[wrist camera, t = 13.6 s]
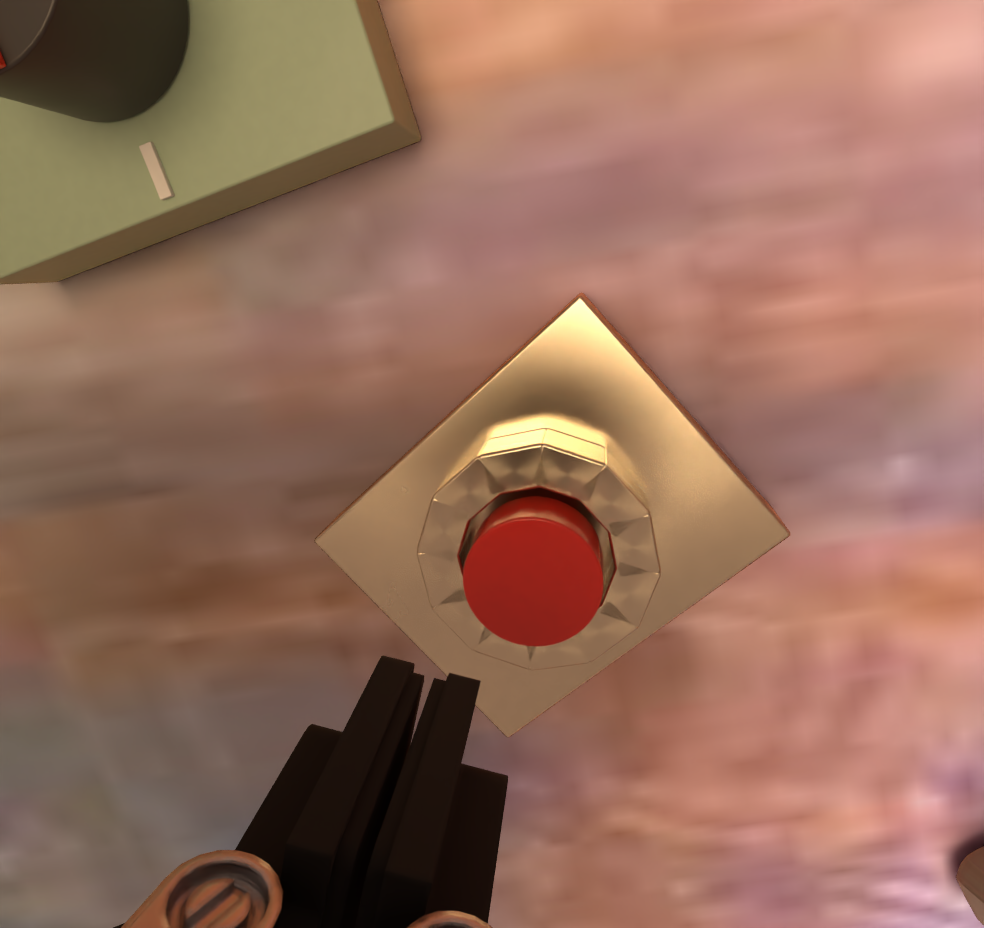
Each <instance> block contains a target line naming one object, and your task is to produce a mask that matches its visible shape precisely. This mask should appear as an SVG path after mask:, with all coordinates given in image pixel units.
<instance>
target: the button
mask: <svg viewBox="0 0 984 928" xmlns="http://www.w3.org/2000/svg"><path fill="white" fill-rule="evenodd" d="M463 588H464V593H465V596H466V599H467V602H468V604H469V606H470V608H471V610H472V612H473V613H474V615H475V616H476V618H477V619H478V620H479V621H480V622H481V623H482V624H483V625H484V626H485V627H486V628H487V629H488V630H489V631H491V632H492V633H494V634H495V635H497V636H499V637H500V638H502V639H504V640H507V641H509V642H512V643H515V644H519V645H525V646H537V647H538V646H548V645H553V644H557V643H560V642H563V641H565V640H567V639H569V638H571V637H573V636H575V635H576V634H578V633H579V632H580V631H581V630H583V629H584V628H585V627H586V626H587V625H588V624H589V623H590V621H591V620H592V619H593V617H594V616H595V614H596V612H597V610H598V608H599V606H600V603H601V600H602V595H603V554H602V547H601V544H600V540H599V538H598V535H597V533H596V531H595V530H594V528H593V526H592V525H591V524H590V522H589V521H588V520H587V519H586V518H585V517H584V516H583V515H582V514H581V513H580V512H579V511H577V510H576V509H575V508H573V507H571V506H570V505H568V504H566V503H564V502H561V501H559V500H556V499H552V498H548V497H540V496H531V497H522V498H518V499H514V500H512V501H509V502H507V503H505V504H503V505H501V506H499V507H498V508H497V509H495V510H494V511H493V512H492V513H491V514H490V515H488V516H487V518H486V519H485V520H484V521H483V523H482V524H481V526H480V528H479V529H478V532H477V534H476V536H475V539H474V541H473V543H472V546H471V548H470V550H469V553H468V555H467V558H466V560H465V564H464V568H463Z"/></svg>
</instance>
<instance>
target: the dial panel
mask: <svg viewBox="0 0 984 928" xmlns="http://www.w3.org/2000/svg"><path fill="white" fill-rule="evenodd" d="M187 6H188V34H187V41H186V47H185V51H184V55H183V59H182V62H181V64H180V67H179V69H178V72H177V74H176V76H175V77H174V79H173V81H172V83H171V84H170V86H169V87H168V88H167V90H166V91H165V92H164V94H163V95H162V96H161V97H160V98H159V99H158V100H157V101H156V102H155V103H154V104H153V105H151V106H150V107H148V108H147V109H146V110H144V111H143V112H141V113H139V114H137V115H135V116H133V117H130V118H127V119H124V120H120V121H114V122H93V121H87V120H82V119H79V118H75V117H71V116H68V115H64V114H61V113H57V112H53V111H50V110H46V109H43V108H39V107H35V106H32V105H28V104H24V103H21V102H17V101H14V100H10V99H6V98H3V97H0V284H22V283H47V282H58V281H60V280H63V279H66V278H68V277H71V276H73V275H76V274H78V273H81V272H84V271H86V270H89V269H91V268H94V267H96V266H99V265H102V264H104V263H107V262H109V261H112V260H115V259H117V258H120V257H122V256H125V255H127V254H130V253H133V252H135V251H138V250H140V249H143V248H145V247H148V246H151V245H153V244H156V243H158V242H161V241H163V240H166V239H169V238H171V237H174V236H176V235H179V234H181V233H184V232H187V231H189V230H192V229H194V228H197V227H200V226H202V225H205V224H207V223H210V222H212V221H215V220H218V219H220V218H223V217H225V216H228V215H230V214H233V213H236V212H238V211H241V210H243V209H246V208H248V207H251V206H254V205H256V204H259V203H261V202H264V201H266V200H269V199H272V198H274V197H277V196H279V195H282V194H285V193H287V192H290V191H292V190H295V189H297V188H300V187H303V186H305V185H308V184H310V183H313V182H315V181H318V180H321V179H323V178H326V177H328V176H331V175H333V174H336V173H339V172H341V171H344V170H346V169H349V168H351V167H354V166H357V165H359V164H362V163H364V162H367V161H370V160H372V159H375V158H377V157H380V156H382V155H385V154H388V153H390V152H393V151H395V150H398V149H400V148H403V147H406V146H408V145H411V144H413V143H416V142H418V141H420V140H421V136H420V132H419V129H418V126H417V123H416V120H415V117H414V114H413V111H412V108H411V104H410V101H409V98H408V95H407V92H406V89H405V86H404V83H403V80H402V76H401V73H400V70H399V67H398V64H397V61H396V58H395V55H394V52H393V48H392V45H391V42H390V39H389V36H388V33H387V30H386V27H385V24H384V20H383V17H382V14H381V11H380V8H379V5H378V2H377V0H187Z"/></svg>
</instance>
